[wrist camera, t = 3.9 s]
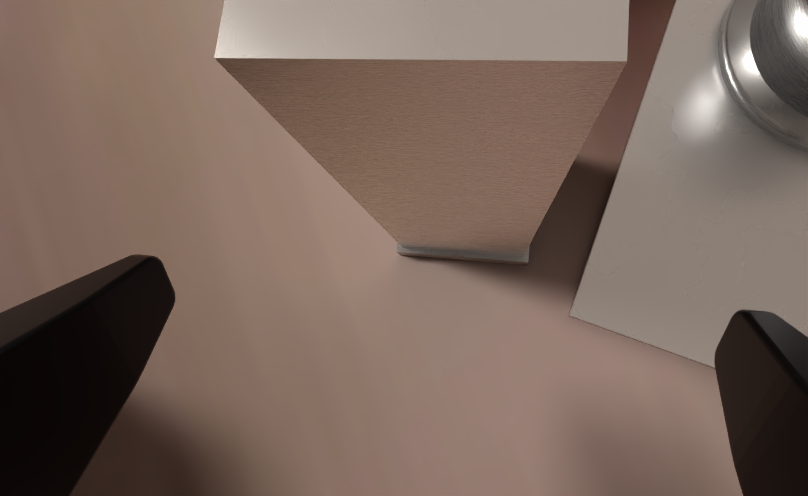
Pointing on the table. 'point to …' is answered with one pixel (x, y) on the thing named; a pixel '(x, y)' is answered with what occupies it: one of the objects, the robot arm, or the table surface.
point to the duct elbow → (435, 105)
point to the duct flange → (709, 183)
